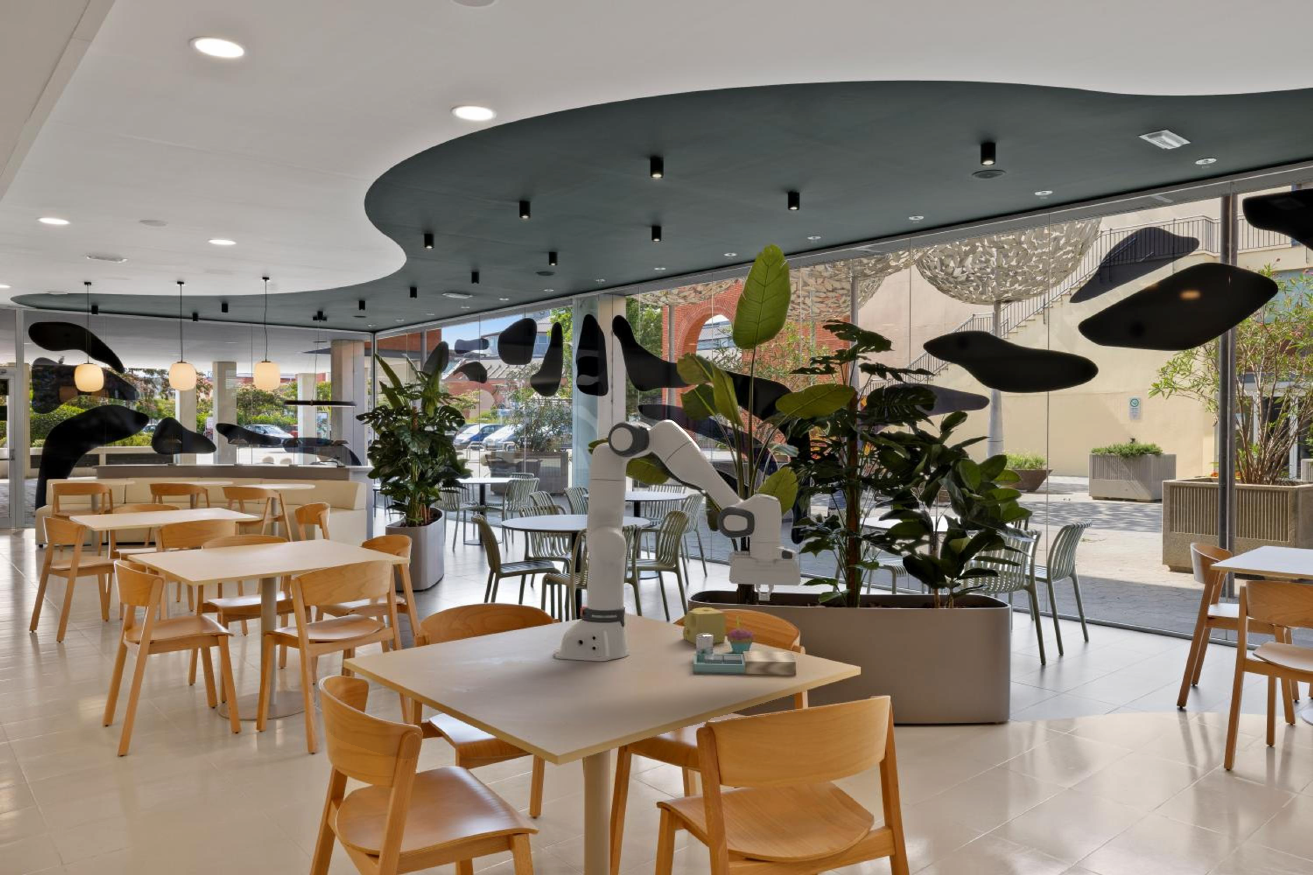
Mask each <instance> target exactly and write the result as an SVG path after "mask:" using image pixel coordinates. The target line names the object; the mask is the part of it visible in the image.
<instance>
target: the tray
mask: <svg viewBox="0 0 1313 875" xmlns="http://www.w3.org/2000/svg"><path fill="white" fill-rule="evenodd" d="M705 655H722V664H705ZM723 655H728V656H741V658H742V664H723ZM693 674H727V675H729V674H730V675H733V674H734V675H746V674H745V661H744V656H743V654H737V653H713V654H696V653H694V656H693Z"/></svg>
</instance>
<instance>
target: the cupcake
mask: <svg viewBox="0 0 1313 875" xmlns="http://www.w3.org/2000/svg"><path fill="white" fill-rule="evenodd" d="M735 619H736V627H737V628H735V629H732V630H730V631H729V632H728V633H727V634H726V637H727V638H726V639H727V642H729V644H730V646H731V649H732V652H733V654H743V651H750V648H751V646H752V644H753V643H754V642H755V639H756V638H755V634H754V633H753V632H751V631H750V630H749V629H746V628H740V618H739V616H738V614H736V618H735Z"/></svg>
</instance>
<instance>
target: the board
mask: <svg viewBox="0 0 1313 875" xmlns="http://www.w3.org/2000/svg"><path fill="white" fill-rule="evenodd" d="M743 656H744V661H745V674H744V675H784V676H785V675H789V676H790V675H791V676H792V675H793V676H796V675H797V662H796V659H795V656H794V654H793V652H792V651H753V650H752V651H751V650H749V651H743Z"/></svg>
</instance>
